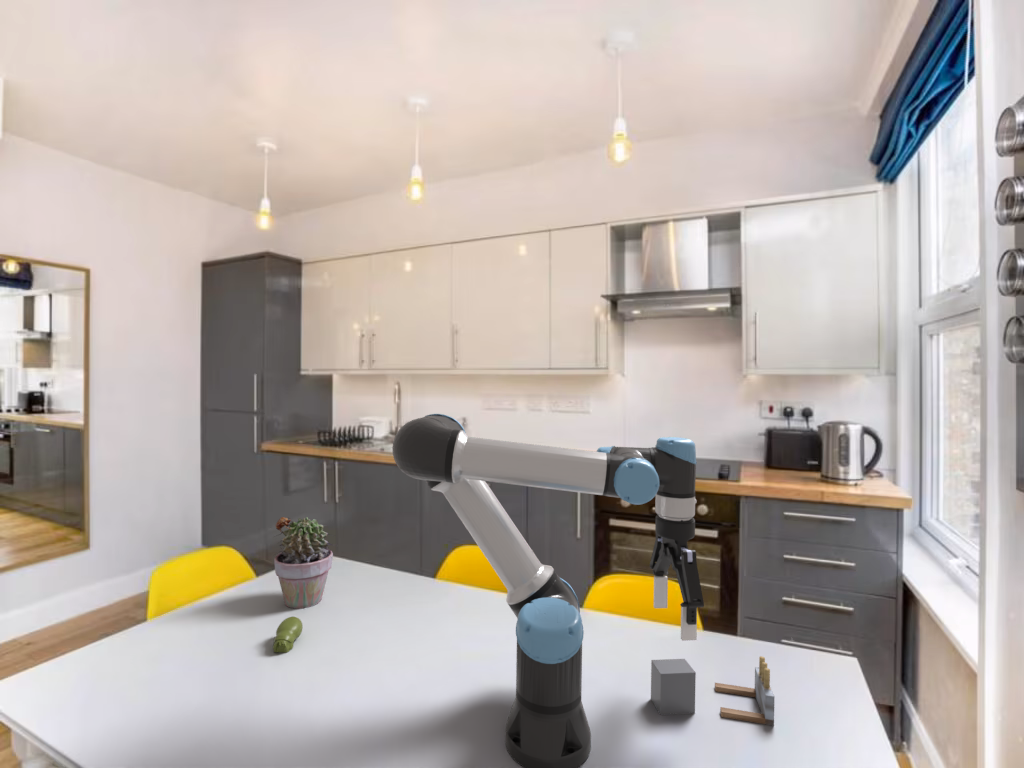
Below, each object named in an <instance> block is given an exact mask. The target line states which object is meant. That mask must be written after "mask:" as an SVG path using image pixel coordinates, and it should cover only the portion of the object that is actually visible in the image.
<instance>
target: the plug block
mask: <svg viewBox="0 0 1024 768" xmlns="http://www.w3.org/2000/svg"><path fill="white" fill-rule="evenodd" d="M650 662H651V663H650V664H651V666H650V667H651V669H650V670H651V672H650V700H651V702H652V704H653V705H654V707H655V709H656V710H657V712H658V714H659V715H660V716H664V715H665V716H666V715H667V716H668V715H683V714H684V715H685V714H696V678H697V677H696V676H697V675H696V671H695V670H694V669H693V667H692V666H691V665H690V663H689V662H688V661H687V660H686V658H668V659H651V661H650Z"/></svg>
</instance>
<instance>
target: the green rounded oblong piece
mask: <svg viewBox="0 0 1024 768" xmlns="http://www.w3.org/2000/svg"><path fill="white" fill-rule="evenodd" d="M302 632H303V622H302V620H301V619H300V618H299V617H296V616H289V617H287V618H285V619H283V620H282V621H281V622H280V624H279V625H278V627H277V628H276V632H275V637H274V639H273V646H272V650H273V653H283V654H284V653H289V652H290V651H291V650H292V649H293V648H294V642H295V640H297V639H298V638H299V637H300V636H301V634H302Z"/></svg>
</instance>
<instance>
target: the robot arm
mask: <svg viewBox="0 0 1024 768" xmlns="http://www.w3.org/2000/svg"><path fill="white" fill-rule="evenodd" d="M391 448H392V450H391V451H392V456H393V460H394V463H395V464H396V466H397V467H398V469H399V470H400V471H401V472H402V473H403V474H405V475H406V476H408V477H410V478H412V479H416V480H421V481H425V482H426V483H425V484H427V486H428V488H429V489H430V490H431V491H434V492H439V493H442V494H443V496H444V497H445V499H446V501H448V503H449V505H450V506H451V508H452V509H453V511H454V512H455V514H456V515H457V517H458V518H459V520H460V522H462V524H463V525H464V527H465V529H466V530H467V531H468V532H469V534H470V536H471V537H472V540H473V541H474V542H475V543H476V545H477V546H478V548H479V550H481V552H482V553H483V555H484V557H485V558H486V559H487V562H489V564H490V566H491V567H492V569H493V570H494V572H495V573H496V575H497V576H498V577H499V580H501V582H502V583H503V586H504V587H505V588H506V590H507V594H506V603H507V605H508V606H509V608H510V609H511V611H512V612H513V613H514V614H513V615H515V617H516V619H517V620H516V624H515V637H516V661H515V662H516V663H515V665H516V667H515V668H516V670H515V672H516V673H515V675H516V677H515V678H516V679H515V698H514V701H513V705H512V707H511V710H510V712H509V716H508V719H507V721H506V725H505V741H504V742H505V747H506V750H507V752H508V754H509V755H510V757H511V758H512V759H513V760H514V761H515V763H518V764H519V765H520V766H522V767H524V768H578V767H580V766H581V765H582V764H583V763H585V761H586V760H587V759H588V758H589V755H590V753H591V750H592V745H591V744H592V733H591V728H590V725H589V721H588V718H587V715H586V711H585V709H584V704H583V701H582V691H583V690H582V688H583V685H582V682H583V681H582V680H583V679H582V678H583V675H582V674H583V640H584V634H585V633H584V632H585V631H584V625H583V619H582V615H581V610H580V603H579V599H578V596H577V595H576V592H575V591H574V589H573V588H572V586H571V584H570V583H569V582H567V581H566V580H564V579H563V578H561V577H560V576H559V575H558V573H557V572H556V570H555V569H554V568H553V566H551V565H547V564H543V563H541V561H540V560H539V558H538V557H537V555H536V554H535V552H534V550H533V549H532V548H531V547H530V545H529V544H528V542H527V541H526V539H525V538H524V536H523V534H522V533H521V532H520V530H519V529H518V527H517V526H516V525H515V522H513V520H512V519H511V516H510V515H509V514H508V513H507V511H506V509H505V508H504V507H503V505H502V504H501V502H500V501H499V499H498V498H497V496H496V495H495V493H494V492H493V490H492V489H491V487H490V486H489V484H488V483H487V482H492V483H497V484H507V485H508V484H509V485H516V486H522V487H523V486H524V487H532V488H540V489H548V490H549V489H550V490H557V491H565V492H574V493H580V494H587V495H588V494H591V495H596V496H597V495H598V496H605V497H611V498H620V499H621V500H622V501H625V502H626V503H628V504H631V505H636V506H637V505H638V506H639V505H643V504H647V503H648V502H650V501H652V500H653V499H654V498H655V502H654V503H655V506H654V508H655V509H654V511H655V513H656V514H657V515H656V516H655V523H654V524H655V528H654V529H655V531H654V532H655V542H654V545H653V550H652V552H651V557H650V558H651V559H650V561H649V568H650V570H652V574H653V608H654V609H668V591H669V590H668V589H669V585H668V584H669V582H668V579H669V578H668V576H669V575H670V574H669V569H670V566H671V569H672V570H673V571H674V572H675V575H676V578H677V581H678V582H677V583H678V586H679V589H680V593H681V598H682V602H681V603H680V607H681V608H680V609H681V610H680V639H681V641H682V642H683V641H698V640H697V635H698V634H697V633H698V629H697V628H698V625H697V624H698V608H704V606H705V603H704V597H703V591H702V586H701V579H700V576H699V569H698V564H697V551H696V550H695V549H689V547H688V546H689V545H688V541H690V540H692V539H694V538H695V536H696V519H695V518H694V517H695V515H696V504H697V501H698V500H697V499H696V479H697V477H696V473H697V465H698V464H697V463H698V462H697V454H696V453H697V452H696V443H695V442H694V441H693V440H692V439H690V438H687V437H685V438H684V437H676V436H675V437H671V436H669V437H665V436H663V437H659V438H657V440H656V444H655V447H633V446H632V447H628V446H627V447H626V446H615V445H612V446H600V447H599V448H597V450H596V451H593V450H585V449H576V448H568V447H567V448H566V447H561V446H559V447H557V446H550V445H541V444H534V443H533V444H532V443H523V442H517V441H506V440H500V439H491V438H483V437H475V436H474V437H473V436H469V435H468V434H467V432H466V431H465V428H464V427H463V425H462V423H460V422H459V420H457V419H455V418H454V417H452V416H449V415H447V414H442V413H431V414H427V415H425V416H422V417H419V418H415V419H411V420H409V421H408V422H406V423H404V424H403V425H402V426H401V427H400V429H399V430H398V431H397V432H396V435H394V438H393V442H392V447H391Z"/></svg>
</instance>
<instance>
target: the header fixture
mask: <svg viewBox="0 0 1024 768" xmlns="http://www.w3.org/2000/svg"><path fill="white" fill-rule="evenodd" d="M758 659H759V660H758V661H759V663H758V666H759V667H757V666H754V688H752V687H748V686H747V687H746V686H741V685H733V684H728V683H727V684H726V683H721V682H720V683H719V682H714V689H715V692H718V693H723V694H724V693H725V694H730V695H737V696H744V697H749V698H755V699H756V701H757V704H758V707H759V710H760V713H758V712H753V711H747V710H743V709H734V708H729V707H722V706H720V716H721V718H725V719H732V720H737V721H745V722H749V723H755V724H762V725H768V726H775V695H774V692H773V690H772V687H771V685H770V684H771V669H770V668H768V663H767V662H766V658H765V657H764V656H761V655H760V656H759V658H758Z"/></svg>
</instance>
